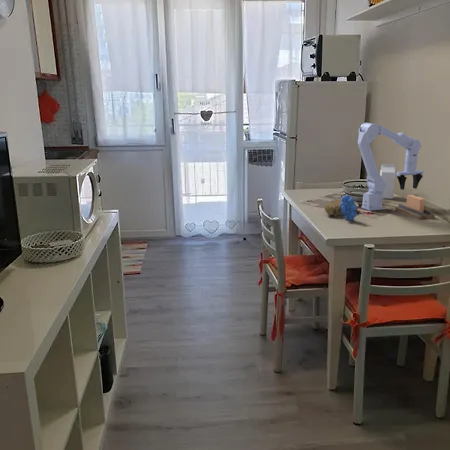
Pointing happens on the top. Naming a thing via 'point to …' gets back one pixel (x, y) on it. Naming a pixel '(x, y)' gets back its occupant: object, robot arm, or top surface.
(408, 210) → the track base
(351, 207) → the grapes
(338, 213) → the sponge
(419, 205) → the peach block
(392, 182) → the milk carton
